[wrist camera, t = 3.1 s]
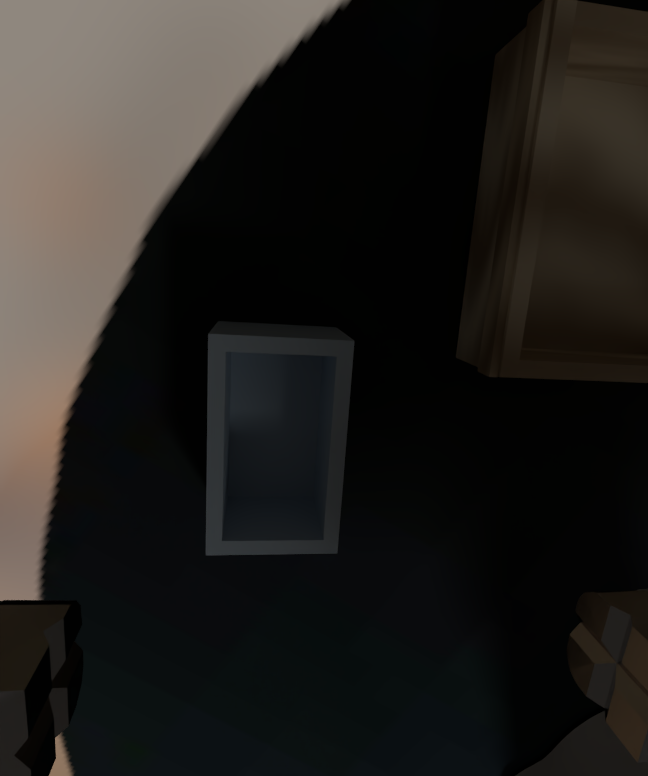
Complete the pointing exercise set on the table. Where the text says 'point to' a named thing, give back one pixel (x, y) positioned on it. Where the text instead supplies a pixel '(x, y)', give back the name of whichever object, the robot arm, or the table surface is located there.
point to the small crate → (276, 437)
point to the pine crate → (563, 202)
